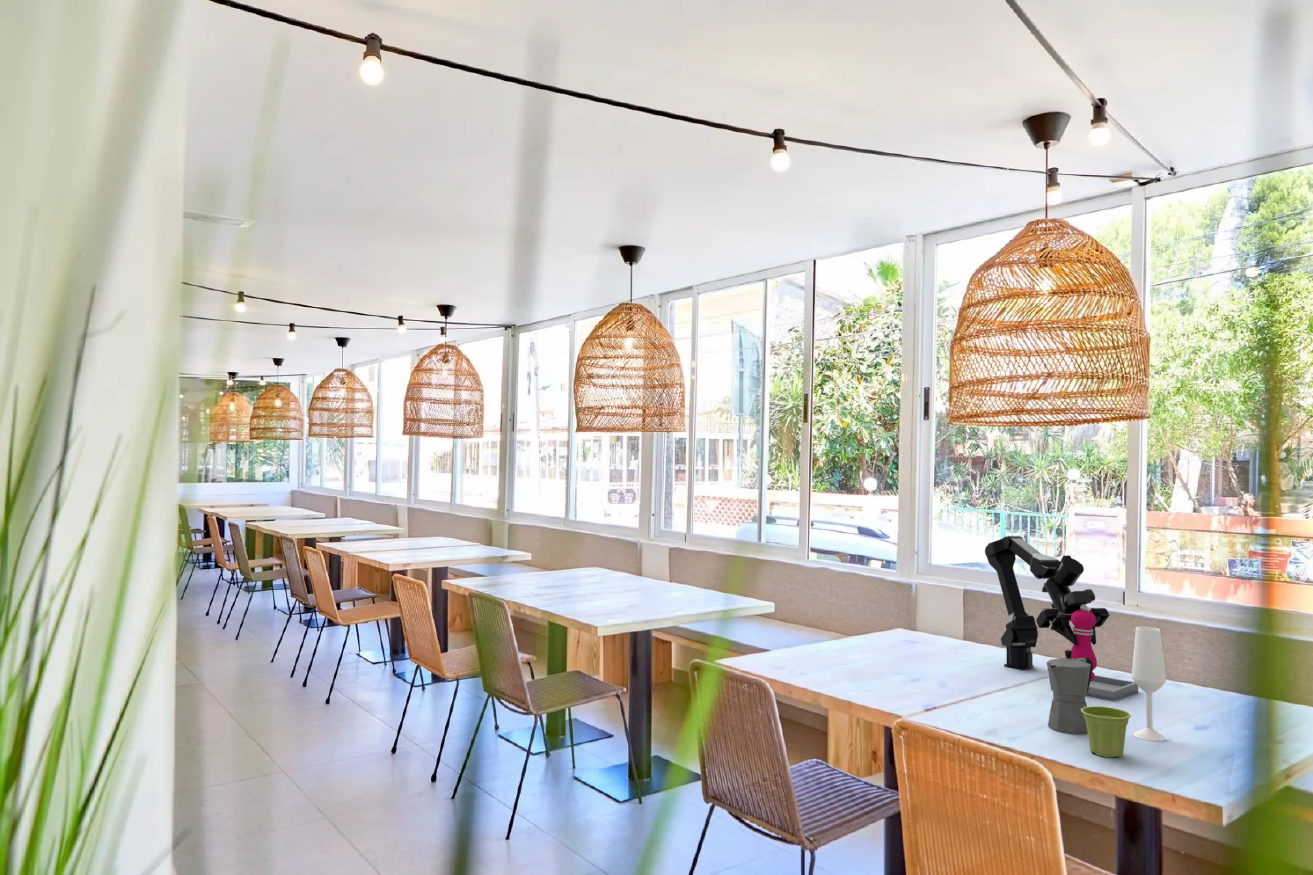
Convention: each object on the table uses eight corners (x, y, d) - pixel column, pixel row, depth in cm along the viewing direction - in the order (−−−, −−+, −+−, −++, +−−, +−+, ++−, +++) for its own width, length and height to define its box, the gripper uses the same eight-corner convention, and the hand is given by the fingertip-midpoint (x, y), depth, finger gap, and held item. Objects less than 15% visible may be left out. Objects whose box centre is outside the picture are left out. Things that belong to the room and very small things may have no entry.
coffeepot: (1071, 738, 194) (1069, 656, 195) (1033, 727, 202) (1032, 649, 203) (1111, 728, 202) (1110, 649, 203) (1073, 718, 210) (1072, 642, 211)
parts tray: (1053, 689, 238) (1053, 680, 238) (1079, 681, 248) (1079, 672, 248) (1113, 701, 226) (1113, 691, 226) (1138, 691, 236) (1138, 682, 236)
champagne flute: (1150, 742, 192) (1148, 631, 193) (1125, 733, 198) (1123, 626, 199) (1174, 739, 194) (1172, 630, 194) (1149, 730, 200) (1147, 625, 201)
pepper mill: (1062, 677, 235) (1065, 603, 235) (1071, 673, 241) (1074, 600, 241) (1091, 683, 230) (1093, 607, 230) (1100, 678, 236) (1102, 604, 236)
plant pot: (1078, 755, 182) (1077, 713, 183) (1084, 743, 190) (1084, 703, 191) (1129, 763, 177) (1128, 720, 178) (1133, 751, 185) (1133, 710, 185)
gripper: (1041, 579, 239) (1065, 627, 228) (1105, 578, 241) (1131, 626, 230) (1026, 603, 246) (1048, 651, 235) (1087, 602, 249) (1112, 649, 237)
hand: (1085, 644), depth 234 cm, fingers closed on pepper mill, 5 cm apart
